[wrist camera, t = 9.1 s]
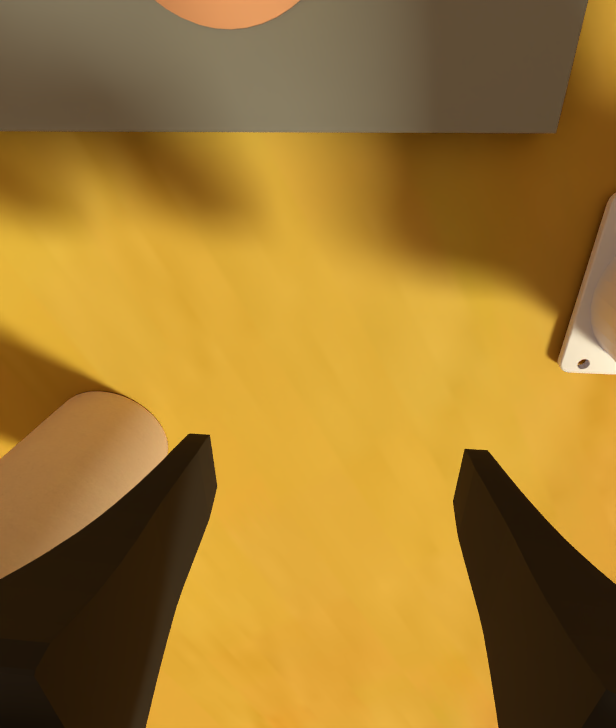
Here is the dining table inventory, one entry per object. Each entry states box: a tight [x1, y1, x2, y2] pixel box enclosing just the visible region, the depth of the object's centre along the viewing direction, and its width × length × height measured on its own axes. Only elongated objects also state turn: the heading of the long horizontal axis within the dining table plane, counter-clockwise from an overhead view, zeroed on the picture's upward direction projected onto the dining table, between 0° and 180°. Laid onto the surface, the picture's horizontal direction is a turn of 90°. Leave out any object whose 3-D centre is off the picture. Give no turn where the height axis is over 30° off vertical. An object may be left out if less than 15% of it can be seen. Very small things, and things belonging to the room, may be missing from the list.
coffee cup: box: [0, 391, 168, 579], centre depth 20 cm, size 10×10×15 cm
